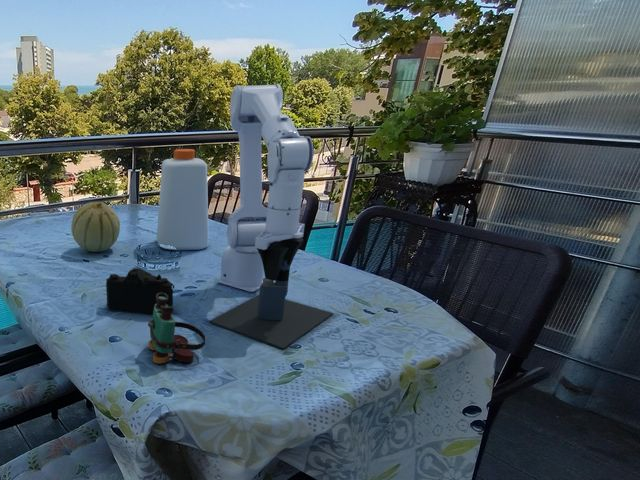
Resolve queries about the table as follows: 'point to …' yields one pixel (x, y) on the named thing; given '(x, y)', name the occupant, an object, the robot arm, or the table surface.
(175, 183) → the plastic bottle
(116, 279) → the film camera
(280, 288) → the vaping device
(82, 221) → the cantaloupe
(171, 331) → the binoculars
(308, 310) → the mat
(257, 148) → the robot arm
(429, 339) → the table surface
